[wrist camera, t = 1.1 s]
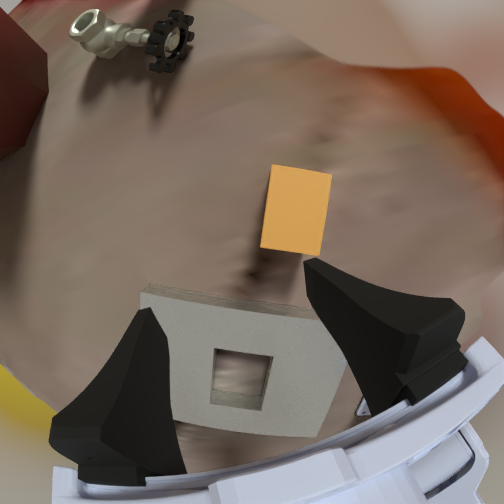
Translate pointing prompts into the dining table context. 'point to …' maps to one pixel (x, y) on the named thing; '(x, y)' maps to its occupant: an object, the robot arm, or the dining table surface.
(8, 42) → the bucket
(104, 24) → the valve
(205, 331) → the grey plate with hole
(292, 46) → the dining table surface
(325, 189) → the orange rectangular block
